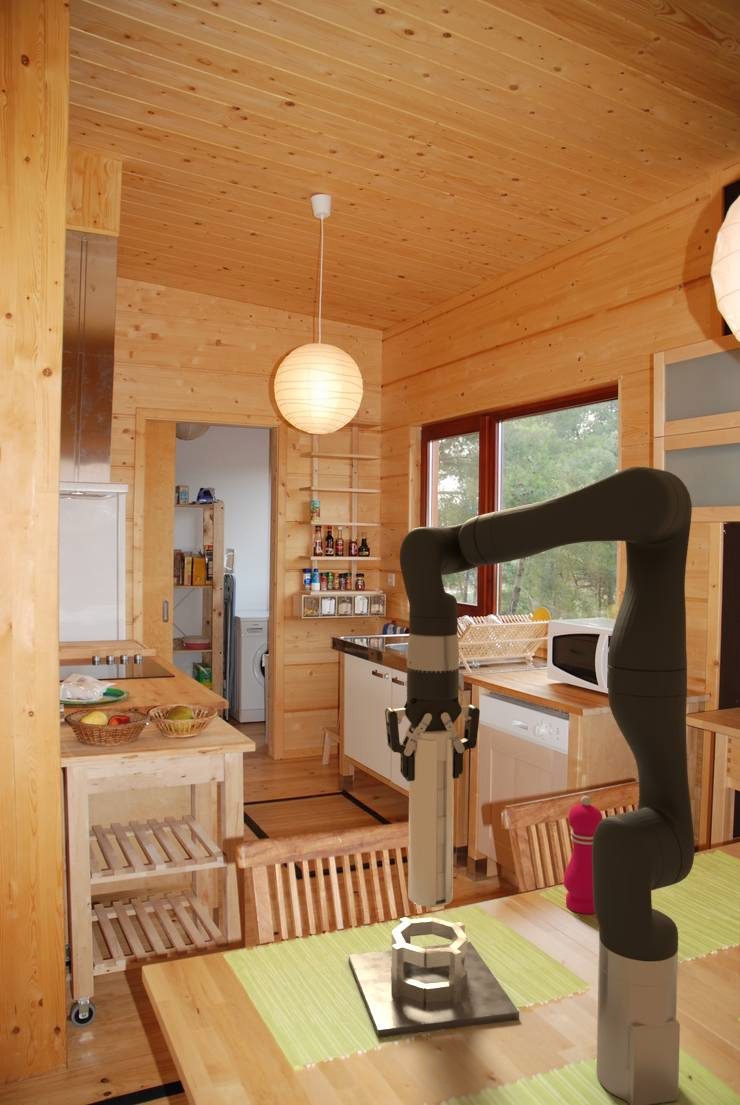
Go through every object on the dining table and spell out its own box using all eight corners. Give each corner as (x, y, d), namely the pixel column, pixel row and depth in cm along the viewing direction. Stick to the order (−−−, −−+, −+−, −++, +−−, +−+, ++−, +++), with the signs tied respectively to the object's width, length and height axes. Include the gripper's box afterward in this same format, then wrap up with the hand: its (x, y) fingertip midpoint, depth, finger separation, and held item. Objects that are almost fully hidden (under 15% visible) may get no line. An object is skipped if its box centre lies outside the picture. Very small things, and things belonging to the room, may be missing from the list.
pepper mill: (555, 900, 154) (557, 791, 153) (590, 895, 156) (592, 788, 155) (576, 918, 147) (578, 804, 146) (612, 912, 149) (615, 800, 149)
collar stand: (519, 1019, 117) (519, 962, 117) (378, 1037, 112) (378, 978, 112) (470, 948, 136) (470, 899, 136) (348, 961, 132) (349, 910, 132)
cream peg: (452, 889, 127) (454, 723, 126) (452, 908, 120) (454, 734, 119) (409, 887, 127) (410, 722, 127) (406, 906, 121) (408, 732, 120)
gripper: (391, 670, 117) (390, 789, 118) (489, 667, 121) (487, 783, 121) (378, 661, 125) (377, 773, 125) (471, 659, 128) (470, 768, 129)
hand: (431, 778), depth 123 cm, fingers closed on cream peg, 6 cm apart
